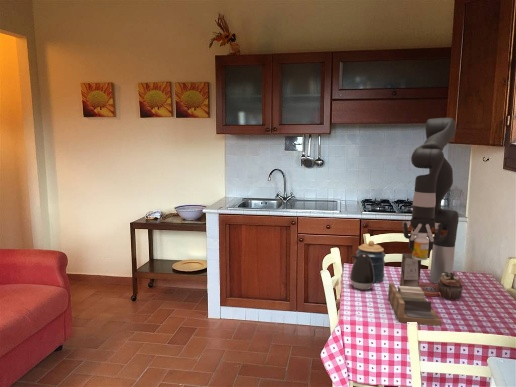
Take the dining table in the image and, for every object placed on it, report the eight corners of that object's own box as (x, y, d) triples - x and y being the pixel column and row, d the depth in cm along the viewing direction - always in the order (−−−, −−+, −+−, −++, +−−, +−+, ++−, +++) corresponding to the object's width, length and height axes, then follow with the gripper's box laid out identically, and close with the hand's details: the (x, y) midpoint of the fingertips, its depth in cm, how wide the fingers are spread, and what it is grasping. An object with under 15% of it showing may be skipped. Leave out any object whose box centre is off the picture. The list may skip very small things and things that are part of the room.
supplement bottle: (409, 256, 156) (411, 230, 155) (423, 256, 156) (425, 230, 155) (415, 260, 151) (418, 233, 149) (430, 260, 151) (432, 234, 150)
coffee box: (418, 298, 170) (421, 259, 168) (402, 296, 172) (405, 258, 170) (415, 290, 179) (418, 253, 177) (399, 289, 180) (402, 252, 179)
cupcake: (466, 301, 168) (468, 277, 167) (441, 300, 169) (443, 276, 168) (456, 293, 178) (458, 270, 177) (433, 291, 178) (434, 268, 177)
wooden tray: (387, 299, 168) (389, 282, 167) (424, 302, 166) (425, 285, 165) (398, 322, 146) (400, 303, 145) (441, 326, 144) (442, 306, 144)
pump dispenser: (347, 283, 186) (349, 249, 184) (371, 284, 186) (373, 250, 184) (351, 291, 176) (353, 255, 174) (376, 292, 175) (378, 257, 174)
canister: (353, 273, 201) (355, 236, 199) (381, 275, 199) (384, 238, 197) (356, 281, 188) (358, 243, 186) (385, 284, 187) (388, 245, 184)
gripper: (441, 204, 154) (437, 249, 156) (401, 202, 156) (397, 246, 158) (448, 207, 147) (444, 254, 149) (405, 205, 148) (401, 252, 150)
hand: (420, 250), depth 153 cm, fingers closed on supplement bottle, 5 cm apart
